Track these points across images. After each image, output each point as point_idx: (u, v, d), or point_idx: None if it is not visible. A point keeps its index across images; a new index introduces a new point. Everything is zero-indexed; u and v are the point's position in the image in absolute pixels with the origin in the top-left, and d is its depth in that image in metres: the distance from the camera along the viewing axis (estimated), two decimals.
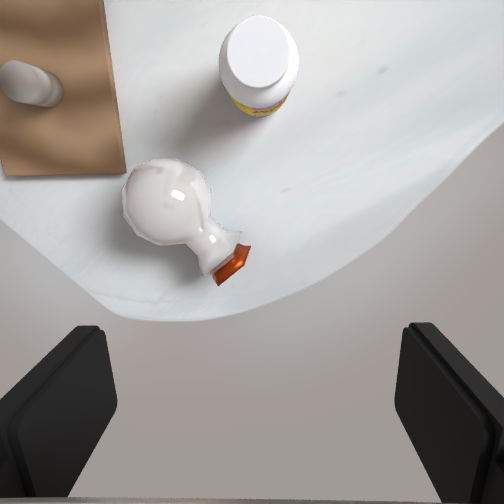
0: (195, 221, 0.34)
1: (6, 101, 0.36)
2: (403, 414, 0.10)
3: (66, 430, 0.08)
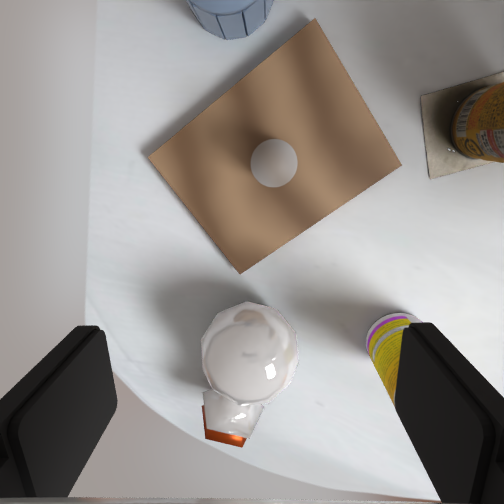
0: None
1: (231, 122, 0.29)
2: (403, 414, 0.10)
3: (66, 430, 0.08)
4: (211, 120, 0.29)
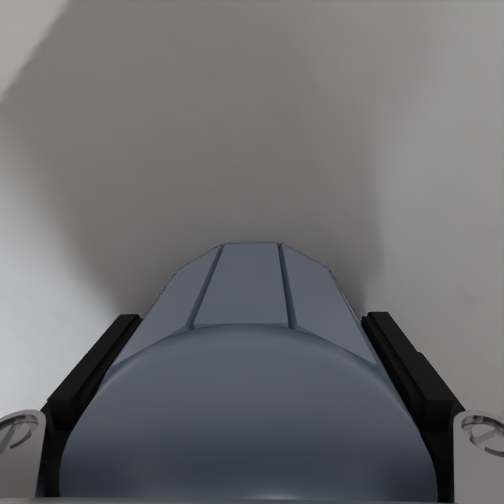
0: None
1: None
2: None
3: None
4: None
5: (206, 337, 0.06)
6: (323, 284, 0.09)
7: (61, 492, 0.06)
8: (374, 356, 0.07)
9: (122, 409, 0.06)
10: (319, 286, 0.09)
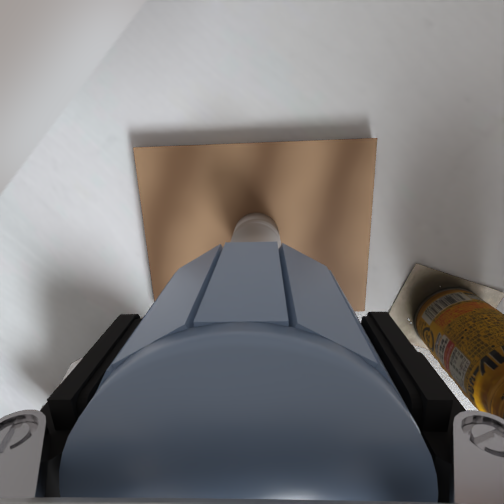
0: None
1: (240, 173, 0.25)
2: None
3: None
4: (222, 158, 0.25)
5: (206, 335, 0.06)
6: (323, 283, 0.09)
7: (60, 490, 0.06)
8: (374, 354, 0.07)
9: (122, 407, 0.06)
10: (319, 285, 0.09)
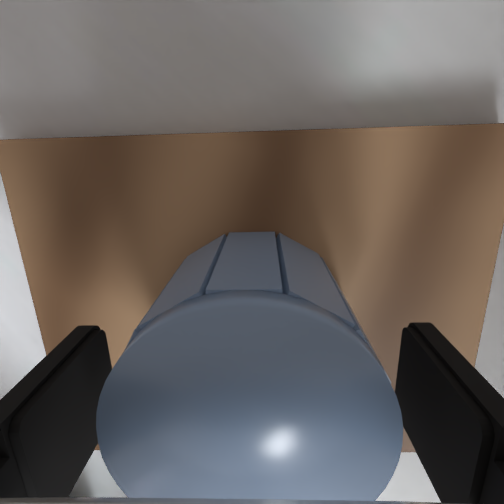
0: None
1: (221, 197, 0.12)
2: (403, 414, 0.10)
3: (67, 430, 0.08)
4: (183, 164, 0.12)
5: (216, 299, 0.07)
6: (314, 265, 0.10)
7: (96, 429, 0.08)
8: (353, 319, 0.08)
9: (149, 357, 0.07)
10: (310, 266, 0.10)
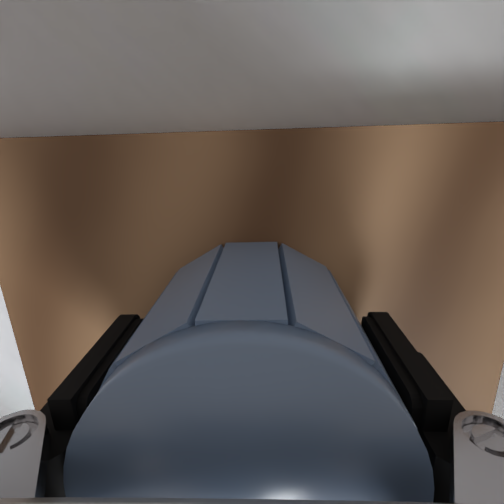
0: None
1: (217, 203, 0.11)
2: None
3: None
4: (174, 167, 0.10)
5: (207, 333, 0.06)
6: (322, 282, 0.09)
7: (65, 485, 0.06)
8: (372, 352, 0.07)
9: (125, 405, 0.06)
10: (318, 284, 0.09)
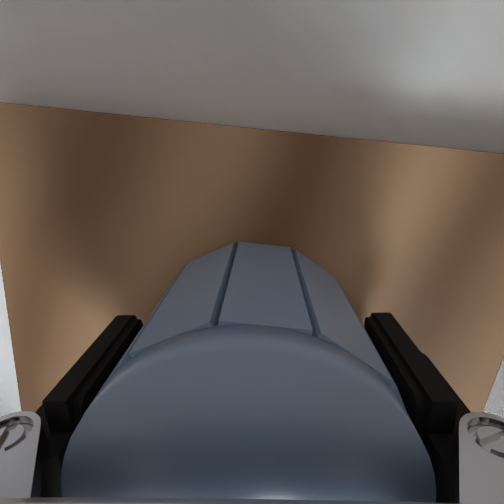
0: None
1: (235, 200, 0.11)
2: None
3: None
4: (197, 158, 0.10)
5: None
6: (210, 270, 0.09)
7: None
8: (222, 309, 0.06)
9: None
10: (202, 277, 0.09)
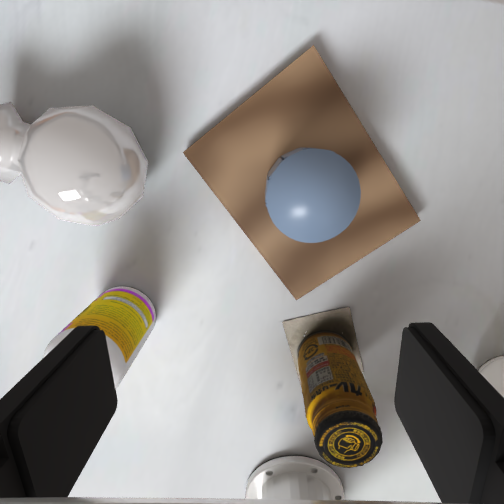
0: None
1: (342, 144, 0.29)
2: (403, 414, 0.10)
3: (66, 430, 0.08)
4: (346, 123, 0.29)
5: (271, 175, 0.25)
6: (295, 150, 0.28)
7: None
8: None
9: (272, 200, 0.25)
10: (293, 151, 0.27)
